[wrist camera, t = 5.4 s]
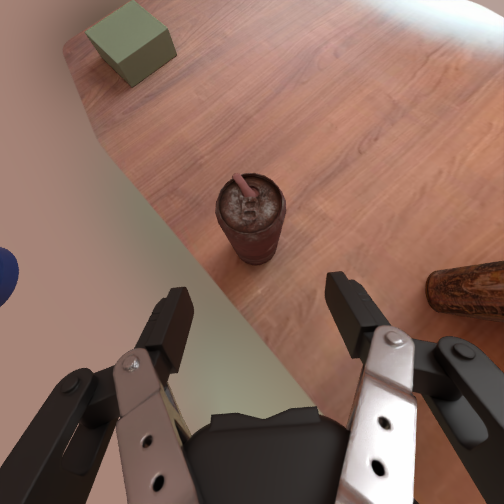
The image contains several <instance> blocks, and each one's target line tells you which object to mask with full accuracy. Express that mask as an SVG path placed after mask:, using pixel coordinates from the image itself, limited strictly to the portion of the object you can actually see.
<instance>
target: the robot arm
mask: <svg viewBox="0 0 504 504" xmlns="http://www.w3.org/2000/svg"><path fill="white" fill-rule="evenodd" d="M325 300H326V303H327V306H328V308H329V310H330V312H331V314H332V316H333V319H334V321H335V323H336V325H337V327H338V330H339V332H340V334H341V336H342V338H343V340H344V343H345V345H346V347H347V349H348V351H349V354H350V356H351V358H352V359H354V358H360V359H361V361H362V363H363V366H362V369H361V373H360V377H359V381H358V385H357V389H356V393H355V397H354V401H353V404H352V408H351V411H350V415H349V418H348V422H347V425H346V428H345V427H344V426H342V425H341V424H339V423H338V422H336V421H334V420H333V419H331V418H328V417H326V416H323V415H319V414H318V409H317V406H315V407H303V408H291V409H288V410H286V411H283V412H281V413H279V414H276V415H274V416H272V417H269V418H266V419H260V418H256V417H252V416H248V415H244V414H240V413H228V414H215V415H211V423H210V424H208V425H206V426H204V427H203V428H201V429H200V430H198V431H197V432H196V433H194V434H193V435H191V433H190V431H189V429H188V427H187V425H186V423H185V421H184V420H183V417H182V415H181V413H180V410H179V408H178V405H177V403H176V401H175V398H174V396H173V393H172V391H171V388H170V386H169V384H168V382H167V381H168V378H169V375H170V374H172V373H178V371H179V367H180V363H181V360H182V356H183V353H184V349H185V345H186V342H187V338H188V334H189V331H190V327H191V323H192V319H193V315H194V307H193V303H192V301H191V298H190V296H189V293H188V290H187V288H186V287H177V288H171V290H170V292H169V294H168V296H167V298H162V299H161V300H160V301H159V302H158V304H156V306H155V308H154V310H153V312H152V315H151V316H150V318H149V320H148V322H147V324H146V326H145V328H144V330H143V332H142V334H141V336H140V338H139V340H138V342H137V344H136V346H135V348H134V349H132V350H130V351H128V352H127V353H125V354H124V355H123V356H122V357H121V358H120V359H119V360H118V361H117V363H116V364H115V365H114V366H111V367H109V368H106V369H104V370H101V371H98V372H96V373H93V372H92V371H91V370H90V369H88V368H81V369H78V370H75V371H73V372H71V373H70V374H68V375H67V376H65V377H64V378H63V379H62V380H61V381H60V382H59V383H58V384H57V385H56V386H55V388H54V389H53V391H52V392H51V394H50V395H49V397H48V398H47V400H46V401H45V402H44V404H43V405H42V407H41V408H40V410H39V411H38V413H37V414H36V416H35V417H34V419H33V420H32V422H31V423H30V425H29V426H28V428H27V429H26V430H25V432H24V433H23V435H22V436H21V438H20V439H19V441H18V442H17V444H16V445H15V447H14V448H13V450H12V452H11V453H10V454H9V456H8V457H7V458H6V460H5V461H4V463H3V464H2V466H1V468H0V504H86V501H87V498H88V496H89V493H90V491H91V488H92V486H93V483H94V480H95V478H96V475H97V472H98V470H99V467H100V465H101V462H102V459H103V457H104V455H105V452H106V449H107V447H108V444H109V442H110V439H111V436H112V434H113V431H114V429H115V426H116V433H117V439H118V446H119V452H120V458H121V464H122V471H123V477H124V483H125V489H126V495H127V502H128V504H419V503H418V502H417V501H416V500H415V499H414V498H413V489H414V465H415V441H416V418H417V400H416V397H415V396H413V394H412V391H413V392H417V393H420V394H421V395H422V396H423V398H424V400H425V401H426V403H427V405H428V406H429V408H430V410H431V411H432V413H433V415H434V416H435V418H436V420H437V421H438V423H439V425H440V426H441V428H442V430H443V431H444V433H445V435H446V436H447V438H448V440H449V441H450V443H451V445H452V446H453V448H454V450H455V451H456V453H457V455H458V456H459V458H460V460H461V461H462V463H463V465H464V466H465V468H466V470H467V471H468V473H469V475H470V476H471V478H472V480H473V481H474V483H475V485H476V486H477V488H478V490H479V491H480V493H481V495H482V496H483V498H484V500H485V501H486V503H487V504H504V373H503V372H502V371H501V370H500V369H499V368H498V367H497V366H496V365H495V364H494V363H493V362H492V361H491V360H490V359H489V358H488V357H487V356H486V355H485V354H484V352H482V351H481V350H480V349H479V348H478V347H476V346H475V345H473V344H472V343H470V342H468V341H466V340H464V339H461V338H458V337H453V336H446V337H442V338H441V339H440V340H439V341H438V343H433V342H427V341H422V340H417V339H412V338H410V336H409V335H408V334H406V333H405V332H404V331H402V330H400V329H399V328H396V327H393V326H391V324H390V323H389V322H388V320H387V319H386V318H385V316H384V315H383V314H382V312H381V311H380V309H379V308H378V307H377V305H376V304H375V303H374V301H372V299H371V297H370V296H369V294H367V292H366V290H365V289H364V288H363V286H362V285H361V284H359V283H358V282H356V281H355V280H348V278H347V277H346V275H345V274H344V273H343V272H342V271H339V272H329V273H327V277H326V286H325ZM119 417H120V419H119V420H118V418H119ZM78 423H79V426H78V427H77V425H78ZM76 427H77V429H76ZM75 429H76V431H75ZM74 431H75V433H74ZM73 433H74V435H73ZM72 435H73V437H72ZM71 437H72V439H71ZM70 439H71V441H70ZM69 441H70V443H69ZM68 443H69V445H68ZM67 445H68V447H67ZM66 447H67V449H66ZM65 449H66V451H65ZM64 451H65V452H64ZM63 453H64V454H63Z"/></svg>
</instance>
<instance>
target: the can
mask: <svg viewBox="0 0 504 504" xmlns="http://www.w3.org/2000/svg"><path fill="white" fill-rule="evenodd" d="M215 214H216V217H217V220H218V223H219V225H220V227H221V228H222V230H223V232H224V233H225V235H226V236H227V238H228V240H229V241H230V243H231V245H232V246H233V248H234V249H235V251H236V253H237V254H238V256H239V257H240V258H241V259H242V260H243V261H245V262H246V263H249V264H252V265H260V264H263V263H266V262H267V261H269V260H270V259H271V258H272V257H273V255H274V254H275V251H276V248H277V244H278V241H279V237H280V233H281V229H282V225H283V222H284V218H285V214H286V201H285V198H284V196H283V193H282V191H281V190H280V189H279V187H278V186H277V185H276V184H275V183H274V182H273V180H271V179H269V178H268V177H266V176H264V175H260V174H256V173H245V174H242V175H240V174H238V173H235V174H234V175H233V176H232V179H231V180H229V181H228V182H227V183H226V184H225V185H224V187H223V188H222V189H221V191H220V193H219V196H218V199H217V201H216V212H215Z"/></svg>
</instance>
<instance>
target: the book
mask: <svg viewBox="0 0 504 504" xmlns="http://www.w3.org/2000/svg"><path fill="white" fill-rule="evenodd" d="M426 296H427V299H428V302H429V304H430V306H431V307H432V308H433V309H434V310H435V311H436V312H442V313H448V314H454V315H461V316H467V317H473V318H479V319H485V320H492V321H498V322H504V261H499V262H492V263H485V264H479V265H472V266H465V267H459V268H452V269H445V270H439V271H434V272H432V273H431V274H430V275H429V277H428V279H427V282H426Z"/></svg>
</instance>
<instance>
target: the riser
mask: <svg viewBox="0 0 504 504" xmlns="http://www.w3.org/2000/svg"><path fill="white" fill-rule="evenodd" d="M85 34H86V35H87V37H88V38H89V40H90V41H91V43H92V44H93V46H94V47H95V48H96V50H97V51H98V53H99V54H100V56H101V57H102V58H103V59H104V60H105V61H106V62H107V63H108V64H109V65H110V66H111V67H112V68H113V69H114V70H115V71H116V72H117V73H118V74H119V75H120V76H121V77H122V78H123V79H124V80H125V81H126V82H127V83H128V84H129V85H130V86H131V87H134V86H135V85H136V84H138V83H139V82H141V81H142V80H143V79H145V78H146V77H147V76H149V75H150V74H152V73H153V72H154V71H156V70H157V69H158V68H160V67H161V66H163V65H164V64H165V63H167V62H168V61H169V60H171V59H172V58H174V57H175V56H176V55H177V53H176V50H175V47H174V44H173V41H172V39H171V36H170V33H169V30H168V28H167V27H166V26H164V25H163V24H162V23H161V22H160V21H158V20H157V19H156V18H155V17H153V16H152V15H151V14H150V13H149V12H147V11H146V10H145V9H144V8H142V7H141V6H140V5H139V4H138V3H136V2H135V1H134V0H132V1H130V2H129V3H127V4H126V5H124V6H123V7H121V8H120V9H118V10H117V11H115V12H114V13H112V14H111V15H109V16H108V17H106V18H105V19H103V20H102V21H100V22H99V23H97V24H96V25H94V26H93V27H91V28H90V29H88V30H87V31H85Z"/></svg>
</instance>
